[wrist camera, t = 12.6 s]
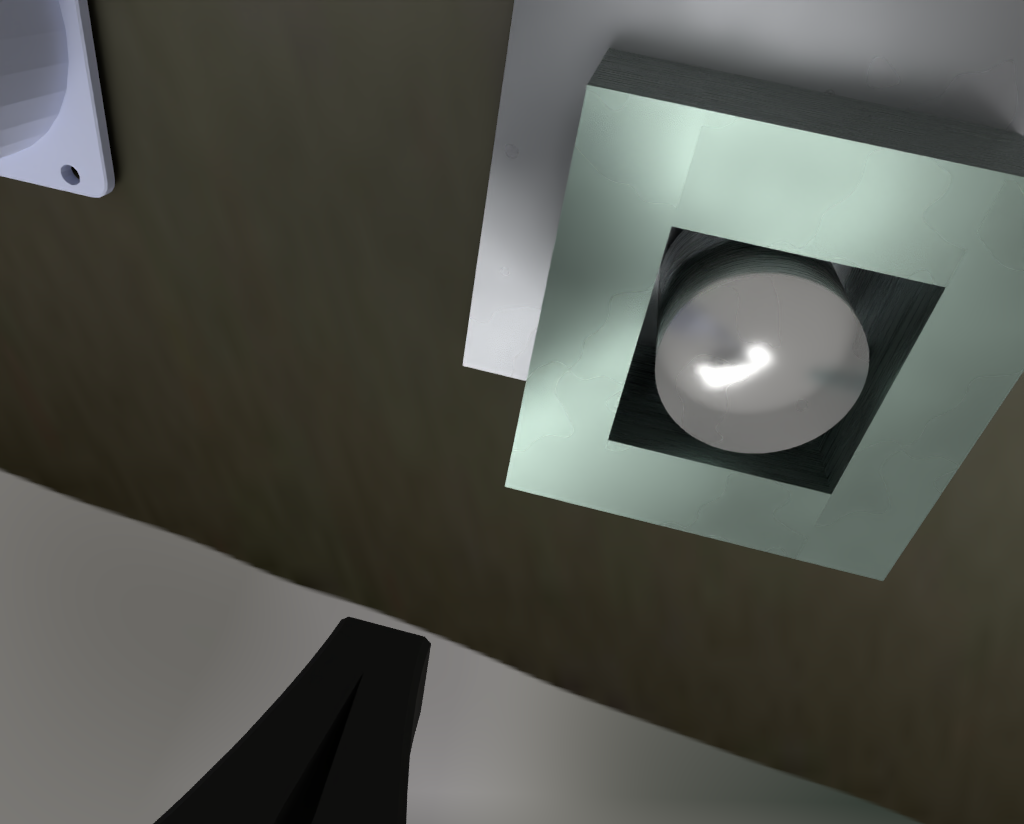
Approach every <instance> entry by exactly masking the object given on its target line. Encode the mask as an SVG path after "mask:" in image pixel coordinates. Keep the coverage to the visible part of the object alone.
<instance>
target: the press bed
mask: <svg viewBox="0 0 1024 824" xmlns="http://www.w3.org/2000/svg"><path fill="white" fill-rule="evenodd" d="M683 229H686V230H690V231H695V232H699V233H704V234H708V235H713V236H717V237H722V238H726V239H731V240H735V241H740V242H744V243H749V244H753V245H758V246H762V247H767V248H771V249H776V250H780V251H785V252H789V253H793V254H798V255H802V256H807V257H811V258H816V259H820V260H825V261H829V262H831V263H832V265H833V267H834V269H835V271H836V273H837V275H838V277H839V279H840V281H841V284H842V286H843V288H844V290H845V292H846V294H847V296H848V298H849V300H850V302H851V304H852V306H853V309H854V311H855V313H856V315H857V317H858V319H859V321H860V323H861V325H862V328H863V330H864V333H865V335H866V338H867V343H868V347H869V368H868V374H867V378H866V381H865V385H864V387H863V389H862V391H861V394H860V396H859V397H858V399H857V401H856V402H855V404H854V405H853V407H852V408H851V409H850V410H849V412H848V413H847V414H846V415H845V416H844V417H843V418H842V419H841V420H840V421H839V422H838V423H837V424H836V425H834V426H833V427H832V428H830V429H829V430H828V431H826V432H825V433H823V434H822V435H820V436H818V437H817V438H815V439H813V440H811V441H809V442H806V443H804V444H802V445H799V446H796V447H793V448H790V449H786V450H781V451H777V452H769V453H751V454H750V453H738V452H732V451H727V450H723V449H720V448H716V447H713V446H711V445H708V444H706V443H704V442H702V441H700V440H698V439H696V438H695V437H693V436H691V435H690V434H689V433H687V432H686V431H685V430H683V429H682V428H681V427H680V426H679V425H678V424H677V423H676V422H675V421H674V420H673V419H672V417H671V416H670V415H669V414H668V412H667V410H666V409H665V407H664V405H663V403H662V401H661V399H660V396H659V394H658V390H657V385H656V379H655V358H656V336H657V313H658V291H659V276H660V270H661V266H662V263H663V260H664V257H665V255H666V253H667V251H668V249H669V247H670V245H671V244H672V243H673V241H674V240H675V238H676V237H677V236H678V235H679V234H680V233H681V232H682V231H683ZM463 366H466V367H470V368H474V369H479V370H483V371H487V372H491V373H495V374H500V375H504V376H508V377H512V378H516V379H520V380H525V381H526V386H525V391H524V396H523V401H522V405H521V410H520V415H519V420H518V425H517V430H516V435H515V440H514V444H513V449H512V454H511V459H510V464H509V469H508V474H507V479H506V484H505V487H509V488H513V489H517V490H521V491H525V492H529V493H533V494H537V495H541V496H545V497H549V498H553V499H557V500H561V501H565V502H569V503H573V504H577V505H581V506H585V507H589V508H593V509H597V510H601V511H605V512H609V513H613V514H617V515H621V516H625V517H629V518H633V519H637V520H641V521H645V522H649V523H653V524H657V525H661V526H665V527H669V528H673V529H677V530H681V531H685V532H689V533H693V534H697V535H701V536H705V537H709V538H713V539H717V540H721V541H725V542H729V543H733V544H737V545H741V546H745V547H749V548H753V549H757V550H761V551H765V552H769V553H773V554H777V555H781V556H785V557H789V558H793V559H797V560H801V561H805V562H809V563H813V564H817V565H821V566H825V567H829V568H833V569H837V570H841V571H845V572H849V573H853V574H857V575H861V576H865V577H869V578H873V579H877V580H881V581H883V580H884V579H885V577H886V576H887V574H888V573H889V571H890V570H891V568H892V567H893V565H894V564H895V562H896V561H897V559H898V558H899V556H900V555H901V553H902V552H903V550H904V549H905V547H906V546H907V544H908V543H909V541H910V540H911V538H912V537H913V535H914V534H915V532H916V531H917V529H918V528H919V526H920V525H921V523H922V522H923V520H924V519H925V517H926V516H927V514H928V513H929V511H930V510H931V509H932V507H933V506H934V504H935V503H936V501H937V500H938V498H939V497H940V495H941V494H942V492H943V491H944V489H945V488H946V486H947V485H948V483H949V482H950V480H951V479H952V477H953V476H954V474H955V473H956V471H957V470H958V468H959V467H960V465H961V464H962V462H963V461H964V459H965V458H966V456H967V455H968V453H969V452H970V450H971V449H972V447H973V446H974V444H975V443H976V441H977V440H978V438H979V437H980V435H981V434H982V432H983V431H984V429H985V428H986V426H987V425H988V423H989V422H990V420H991V419H992V417H993V416H994V414H995V413H996V411H997V410H998V408H999V407H1000V405H1001V404H1002V402H1003V401H1004V399H1005V398H1006V396H1007V395H1008V393H1009V392H1010V390H1011V389H1012V387H1013V386H1014V384H1015V383H1016V381H1017V380H1018V378H1019V377H1020V375H1021V374H1022V372H1023V371H1024V0H515V1H514V8H513V15H512V22H511V29H510V36H509V43H508V50H507V57H506V64H505V71H504V78H503V85H502V92H501V99H500V106H499V113H498V120H497V127H496V134H495V141H494V149H493V156H492V163H491V170H490V177H489V184H488V191H487V198H486V205H485V212H484V219H483V226H482V233H481V240H480V247H479V254H478V261H477V268H476V275H475V282H474V289H473V296H472V303H471V310H470V317H469V324H468V331H467V338H466V346H465V353H464V360H463Z"/></svg>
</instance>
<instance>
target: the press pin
mask: <svg viewBox="0 0 1024 824" xmlns="http://www.w3.org/2000/svg"><path fill="white" fill-rule="evenodd" d="M868 368H869V347H868V343H867V338H866V335H865V333H864V330H863V328H862V325H861V323H860V321H859V319H858V317H857V315H856V313H855V311H854V309H853V306H852V304H851V302H850V300H849V298H848V296H847V294H846V292H845V290H844V288H843V286H842V284H841V281H840V279H839V277H838V275H837V273H836V271H835V269H834V267H833V265H832V263H831V262H829V261H825V260H820V259H816V258H811V257H807V256H802V255H798V254H793V253H789V252H785V251H780V250H776V249H771V248H767V247H762V246H758V245H753V244H749V243H744V242H740V241H735V240H731V239H726V238H722V237H717V236H713V235H708V234H704V233H699V232H695V231H690V230H686V229H683V231H682V232H681V233H680V234H679V235H678V236H677V237H676V238H675V240H674V241H673V243H672V244H671V245H670V247H669V249H668V251H667V253H666V255H665V257H664V260H663V263H662V266H661V270H660V276H659V291H658V313H657V336H656V358H655V379H656V385H657V390H658V394H659V396H660V399H661V401H662V403H663V405H664V407H665V409H666V410H667V412H668V414H669V415H670V416H671V417H672V419H673V420H674V421H675V422H676V423H677V424H678V425H679V426H680V427H681V428H682V429H683V430H685V431H686V432H687V433H689V434H690V435H691V436H693V437H695V438H696V439H698V440H700V441H702V442H704V443H706V444H708V445H711V446H713V447H716V448H720V449H723V450H727V451H732V452H738V453H750V454H751V453H769V452H777V451H781V450H786V449H790V448H793V447H796V446H799V445H802V444H804V443H806V442H809V441H811V440H813V439H815V438H817V437H818V436H820V435H822V434H823V433H825V432H826V431H828V430H829V429H830V428H832V427H833V426H834V425H836V424H837V423H838V422H839V421H840V420H841V419H842V418H843V417H844V416H845V415H846V414H847V413H848V412H849V410H850V409H851V408H852V407H853V405H854V404H855V402H856V401H857V399H858V397H859V396H860V394H861V391H862V389H863V387H864V385H865V381H866V378H867V374H868Z"/></svg>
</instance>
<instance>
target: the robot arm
mask: <svg viewBox="0 0 1024 824" xmlns="http://www.w3.org/2000/svg"><path fill="white" fill-rule="evenodd" d="M71 166H72V167H74V168H75V169H76V170H77V171H78V174H79V176H80V180H79V179H78V178H77V177H76V176H75V175H74V174H73V172H72V169H71ZM0 176H3V177H7V178H11V179H16V180H20V181H24V182H29V183H33V184H37V185H42V186H46V187H50V188H54V189H59V190H63V191H67V192H72V193H76V194H80V195H85V196H89V197H96V198H100V197H102V196H104V195H106V194H108V193H110V192H112V190H113V189H114V187H115V177H114V170H113V164H112V157H111V151H110V145H109V138H108V132H107V125H106V119H105V112H104V106H103V100H102V93H101V87H100V80H99V74H98V67H97V61H96V55H95V48H94V42H93V35H92V29H91V22H90V16H89V9H88V3H87V0H0ZM430 647H431V643H430V642H429V641H428V640H427V639H426V638H425V637H423V636H420V635H416V634H412V633H408V632H404V631H401V630H397V629H393V628H389V627H386V626H382V625H378V624H374V623H371V622H367V621H363V620H359V619H355V618H351V617H347V618H345V619H342V620H341V621H340V623H339V624H338V625H337V627H336V628H335V630H334V631H333V632H332V634H331V635H330V636H329V638H328V639H327V640H326V642H325V643H324V644H323V645H322V647H321V648H320V649H319V651H318V652H317V653H316V654H315V656H314V657H313V658H312V659H311V661H310V662H309V663H308V664H307V665H306V667H305V668H304V669H303V670H302V671H301V673H300V674H299V675H298V676H297V677H296V678H295V680H294V681H293V682H292V683H291V684H290V686H289V687H288V688H287V689H286V690H285V691H284V692H283V694H282V695H281V696H280V697H279V698H278V699H277V700H276V701H275V702H274V703H273V705H272V706H271V707H270V708H269V709H268V710H267V711H266V712H265V713H264V714H263V715H262V717H261V718H260V719H259V720H258V721H257V722H256V723H255V724H254V725H253V726H252V727H251V728H250V730H249V731H248V732H247V733H246V734H245V735H244V736H243V737H242V738H241V739H240V740H239V741H238V743H236V744H235V745H234V746H233V747H232V749H230V750H229V752H228V753H226V754H225V755H224V756H223V757H222V759H220V760H219V761H218V762H217V763H216V764H215V765H214V766H213V767H212V769H210V770H209V771H208V772H207V773H206V774H205V775H204V776H203V777H202V778H201V779H200V780H199V781H198V782H197V783H196V784H195V785H194V786H193V787H192V788H191V789H190V790H189V791H188V792H187V793H186V794H185V795H184V796H183V797H182V798H181V799H180V800H179V801H177V802H176V803H175V804H174V805H173V806H172V807H171V808H170V809H169V810H168V811H167V812H166V813H165V814H163V815H162V816H161V817H160V818H159V819H158V820H157V821H156V822H155V823H154V824H406V812H407V789H408V773H409V759H410V752H411V748H412V743H413V738H414V734H415V731H416V727H417V723H418V720H419V716H420V712H421V706H422V700H423V693H424V686H425V680H426V673H427V667H428V660H429V653H430Z"/></svg>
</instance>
